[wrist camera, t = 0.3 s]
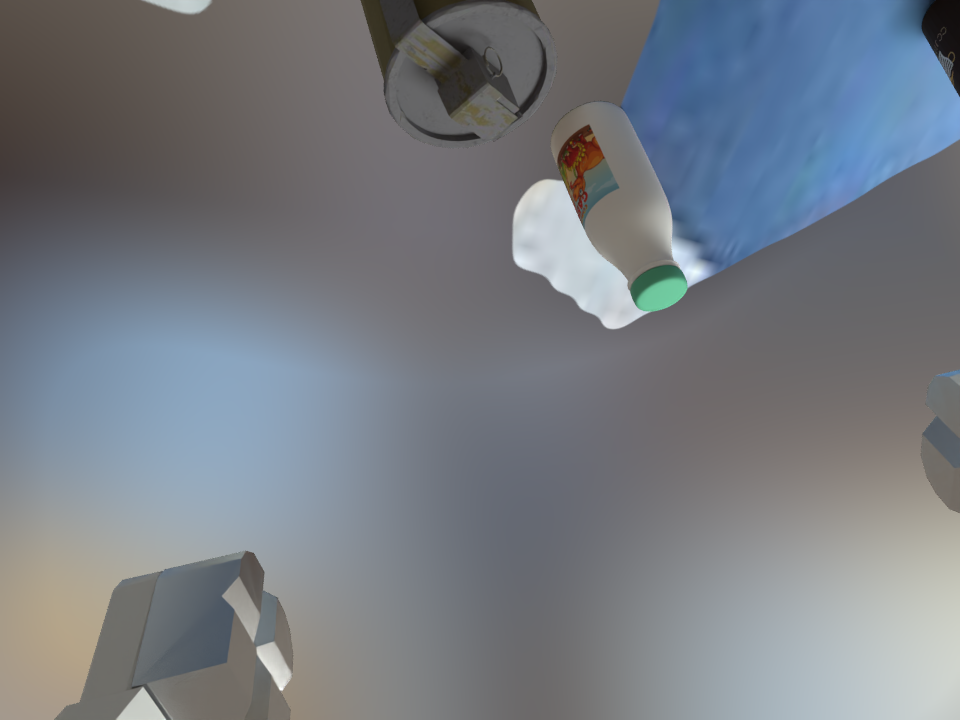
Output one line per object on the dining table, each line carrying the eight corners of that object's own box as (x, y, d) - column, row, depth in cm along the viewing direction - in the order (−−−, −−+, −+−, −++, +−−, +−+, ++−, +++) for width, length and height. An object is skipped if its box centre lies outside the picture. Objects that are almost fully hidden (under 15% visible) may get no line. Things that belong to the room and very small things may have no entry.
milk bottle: (607, 83, 76) (690, 253, 66) (638, 131, 82) (718, 293, 72) (534, 130, 78) (603, 300, 68) (569, 172, 84) (637, 335, 74)
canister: (513, -92, 60) (605, 98, 50) (411, 10, 64) (475, 202, 54) (406, -206, 52) (489, -9, 42) (299, -81, 57) (349, 124, 46)
